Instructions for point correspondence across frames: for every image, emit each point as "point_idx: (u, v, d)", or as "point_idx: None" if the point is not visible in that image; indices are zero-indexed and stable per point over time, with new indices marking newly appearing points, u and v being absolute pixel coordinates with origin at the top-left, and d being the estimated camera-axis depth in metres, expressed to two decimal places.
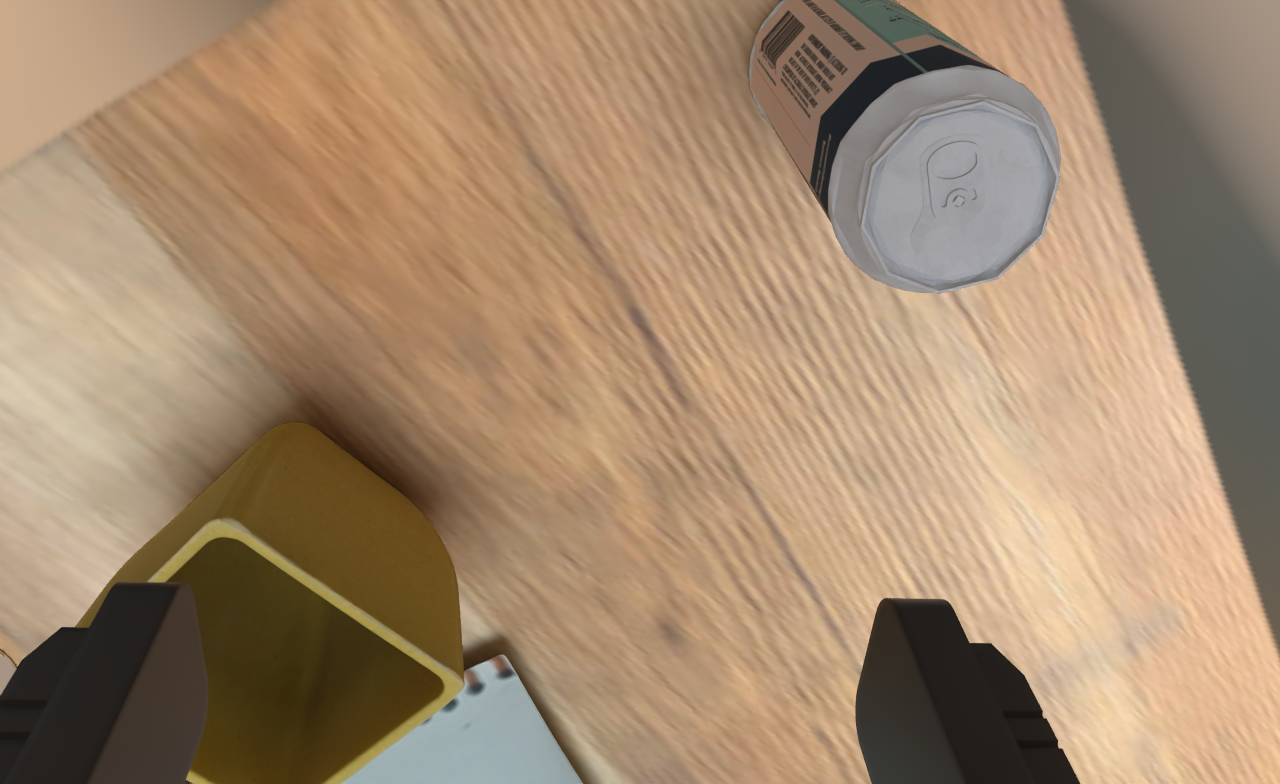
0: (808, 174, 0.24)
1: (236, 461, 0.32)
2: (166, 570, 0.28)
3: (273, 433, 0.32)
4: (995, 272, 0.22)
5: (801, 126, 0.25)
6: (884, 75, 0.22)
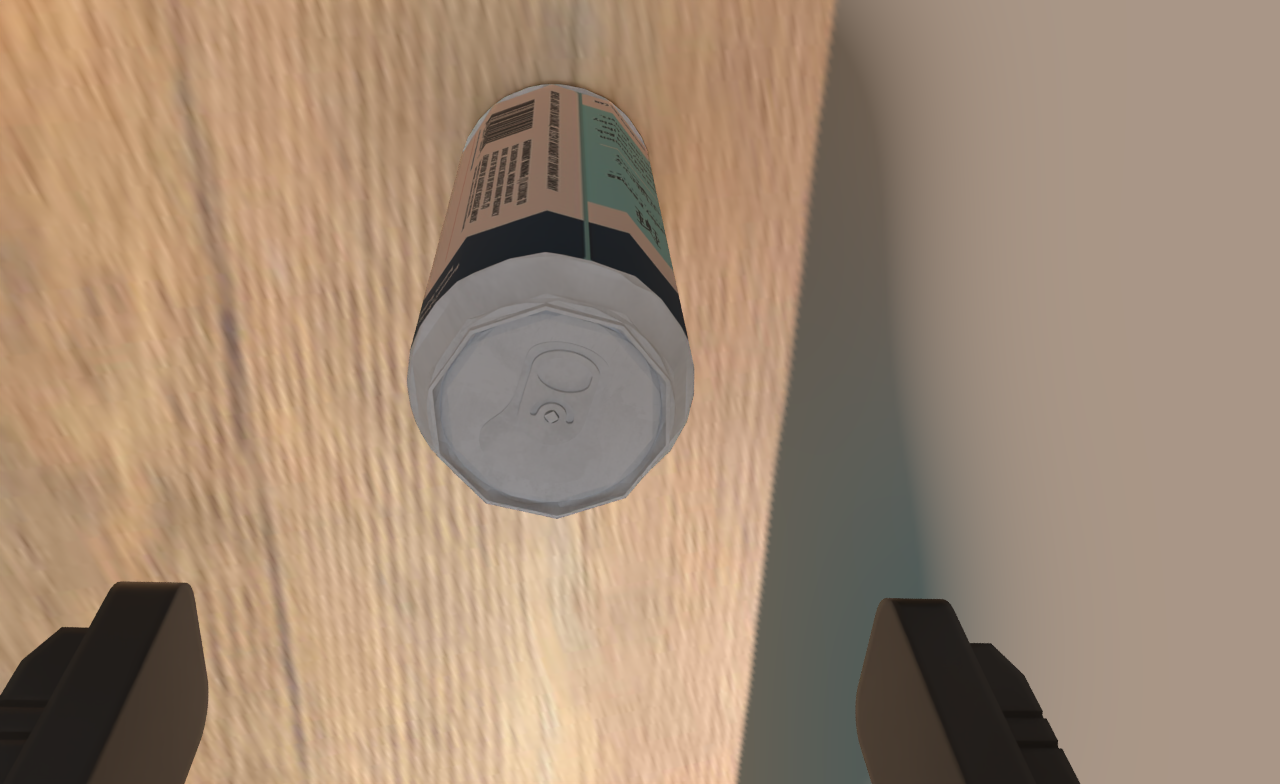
0: (427, 290, 0.19)
1: None
2: None
3: None
4: (559, 509, 0.18)
5: (454, 232, 0.20)
6: (546, 234, 0.17)
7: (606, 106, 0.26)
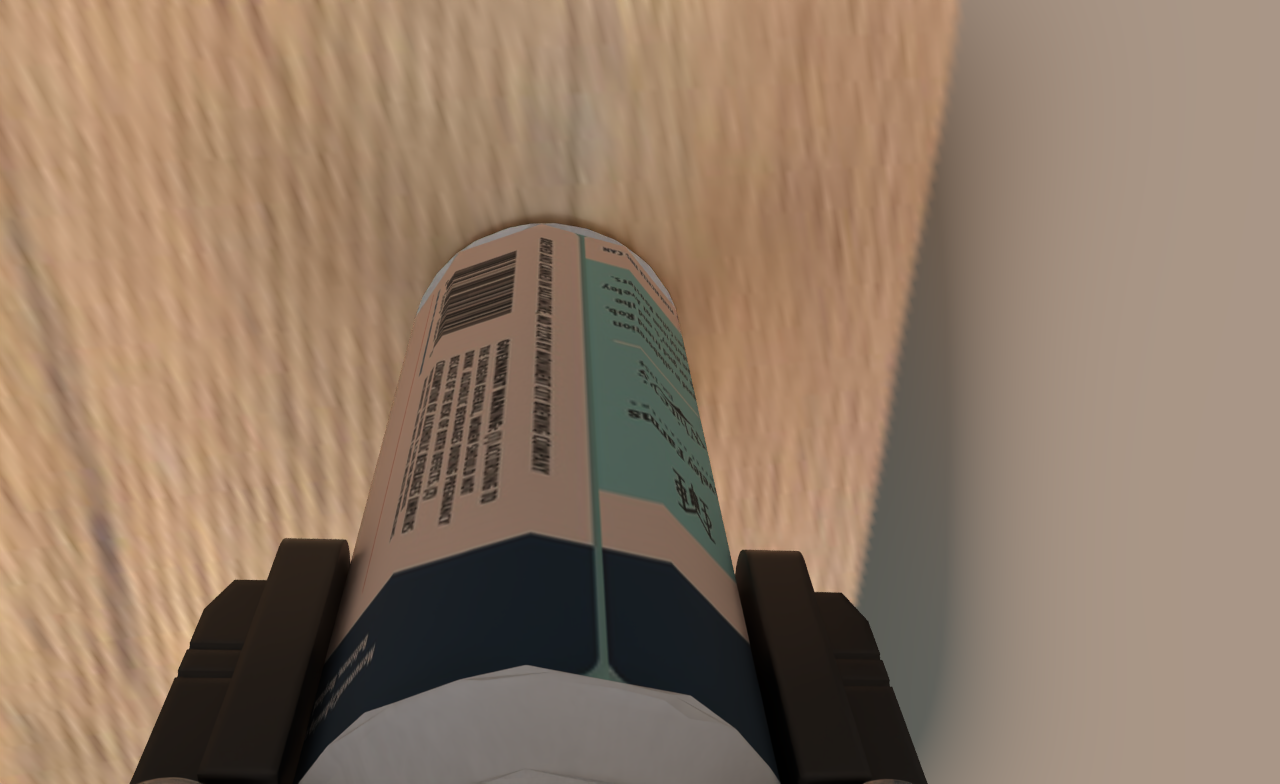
0: (332, 643, 0.12)
1: None
2: None
3: None
4: None
5: (382, 524, 0.12)
6: (527, 607, 0.10)
7: (619, 257, 0.18)
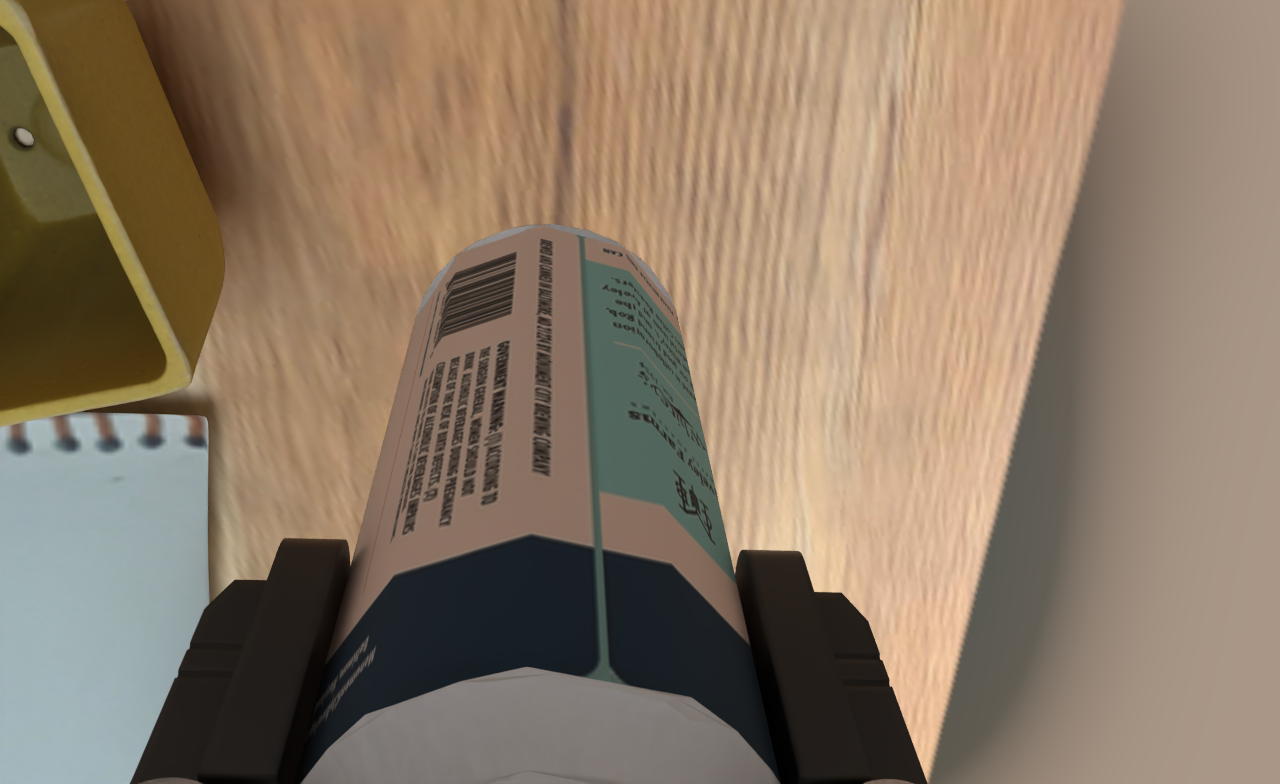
0: (333, 645, 0.12)
1: None
2: None
3: None
4: None
5: (382, 526, 0.12)
6: (528, 609, 0.10)
7: (619, 258, 0.18)
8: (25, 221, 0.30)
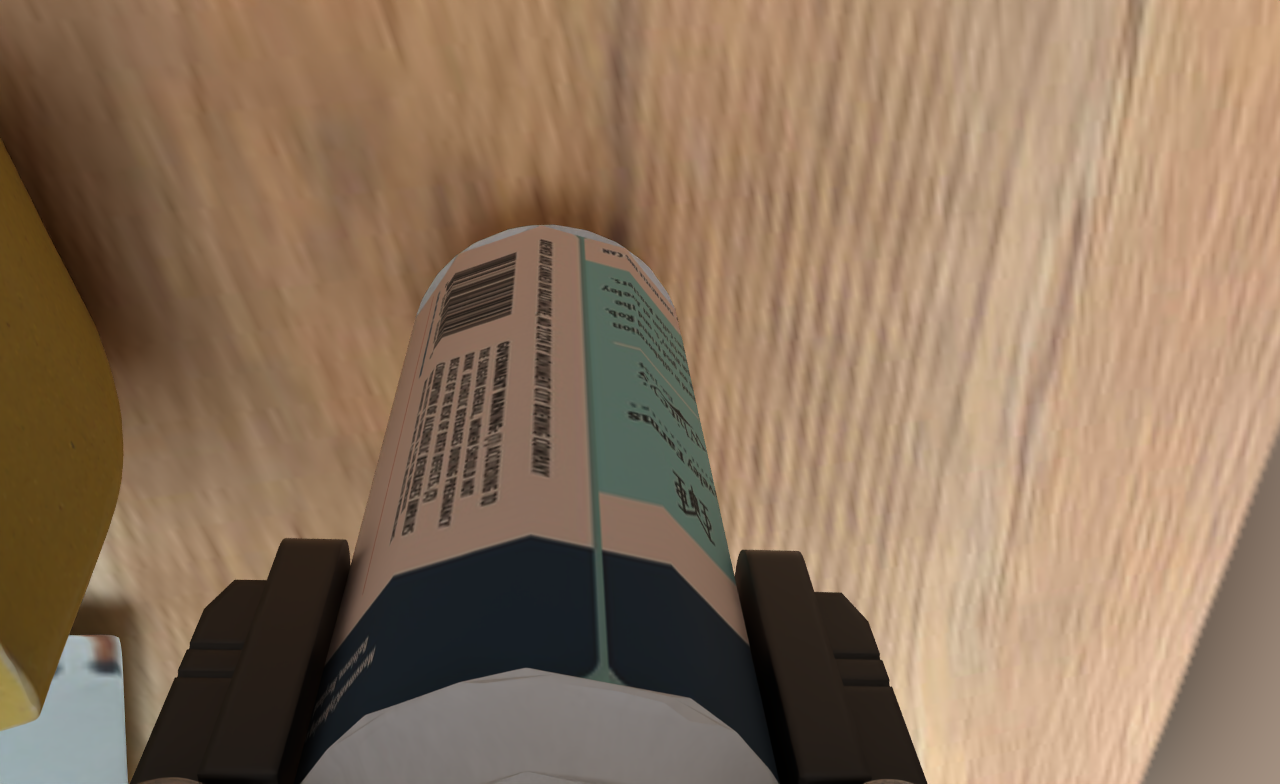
0: (332, 645, 0.12)
1: None
2: None
3: None
4: None
5: (382, 526, 0.12)
6: (527, 610, 0.10)
7: (619, 258, 0.18)
8: None
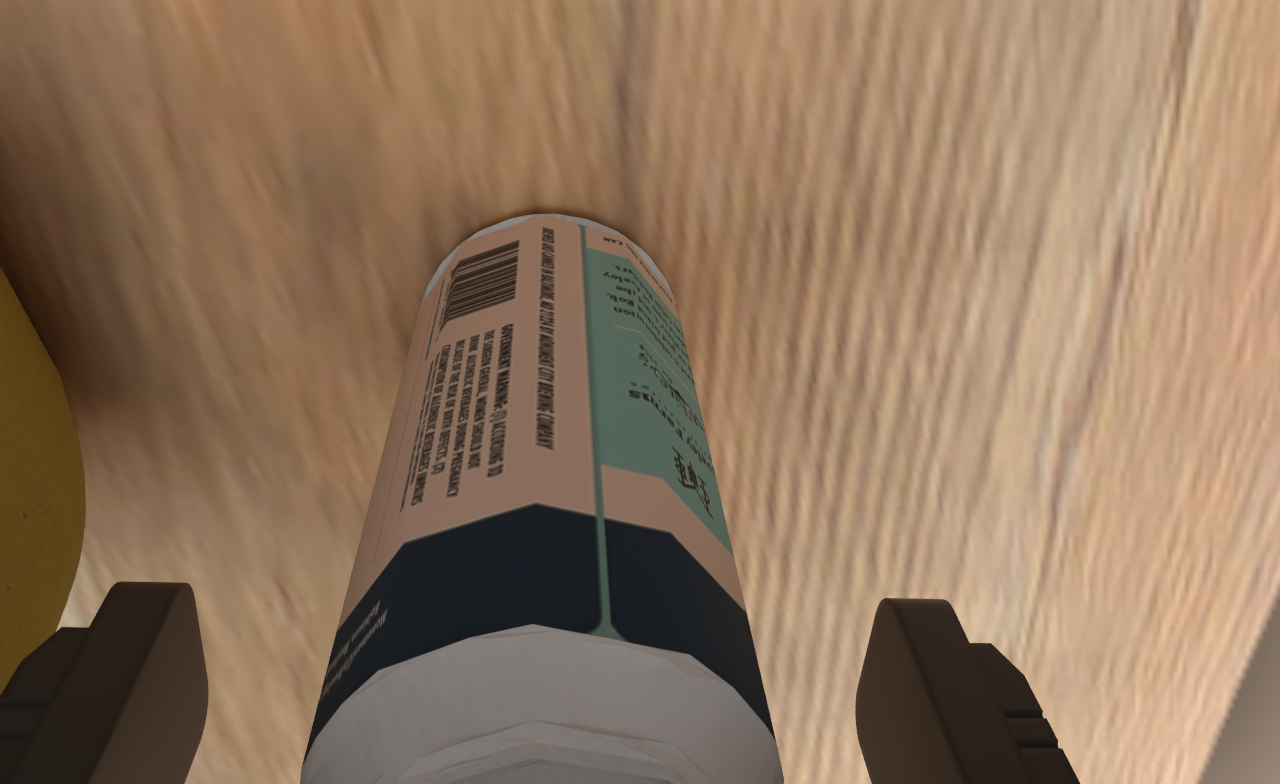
0: (344, 612, 0.12)
1: None
2: None
3: None
4: None
5: (391, 500, 0.13)
6: (533, 571, 0.10)
7: (619, 246, 0.18)
8: None
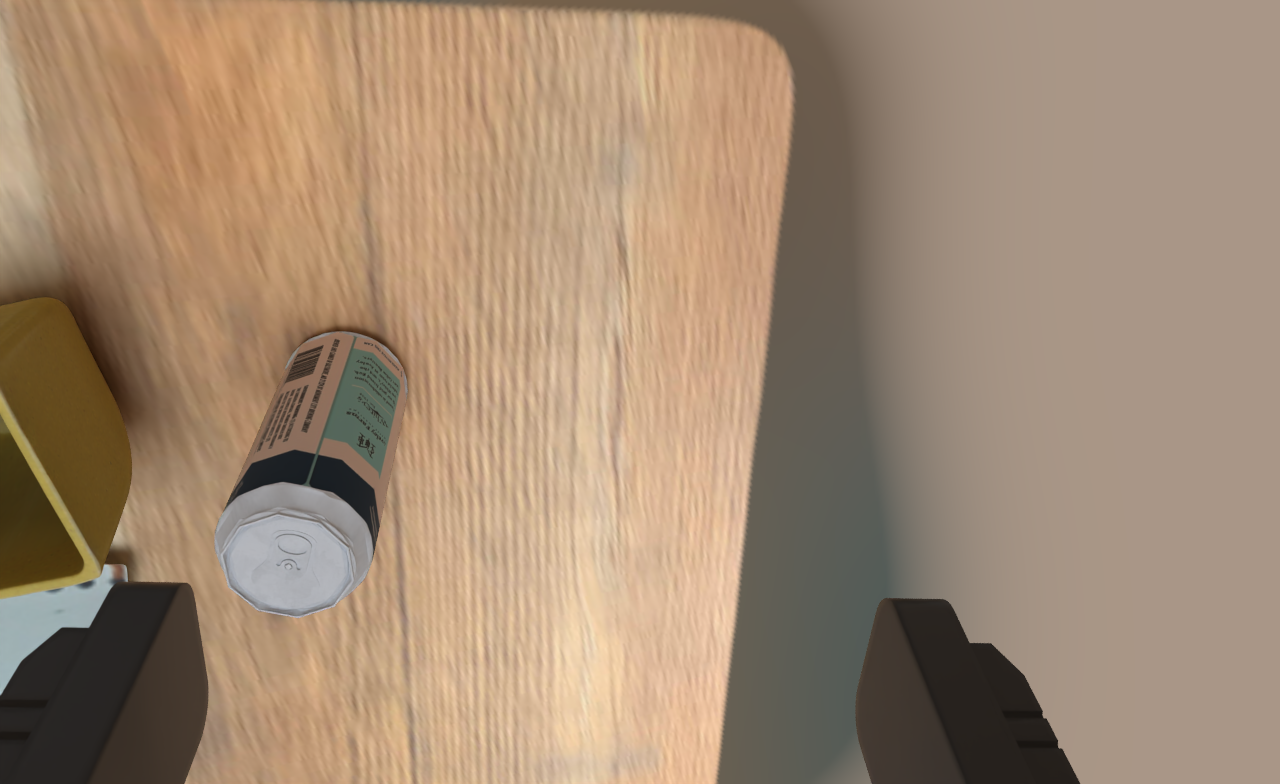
0: (233, 489, 0.35)
1: None
2: None
3: (41, 304, 0.37)
4: (299, 613, 0.34)
5: (253, 451, 0.36)
6: (287, 468, 0.33)
7: (370, 346, 0.41)
8: None
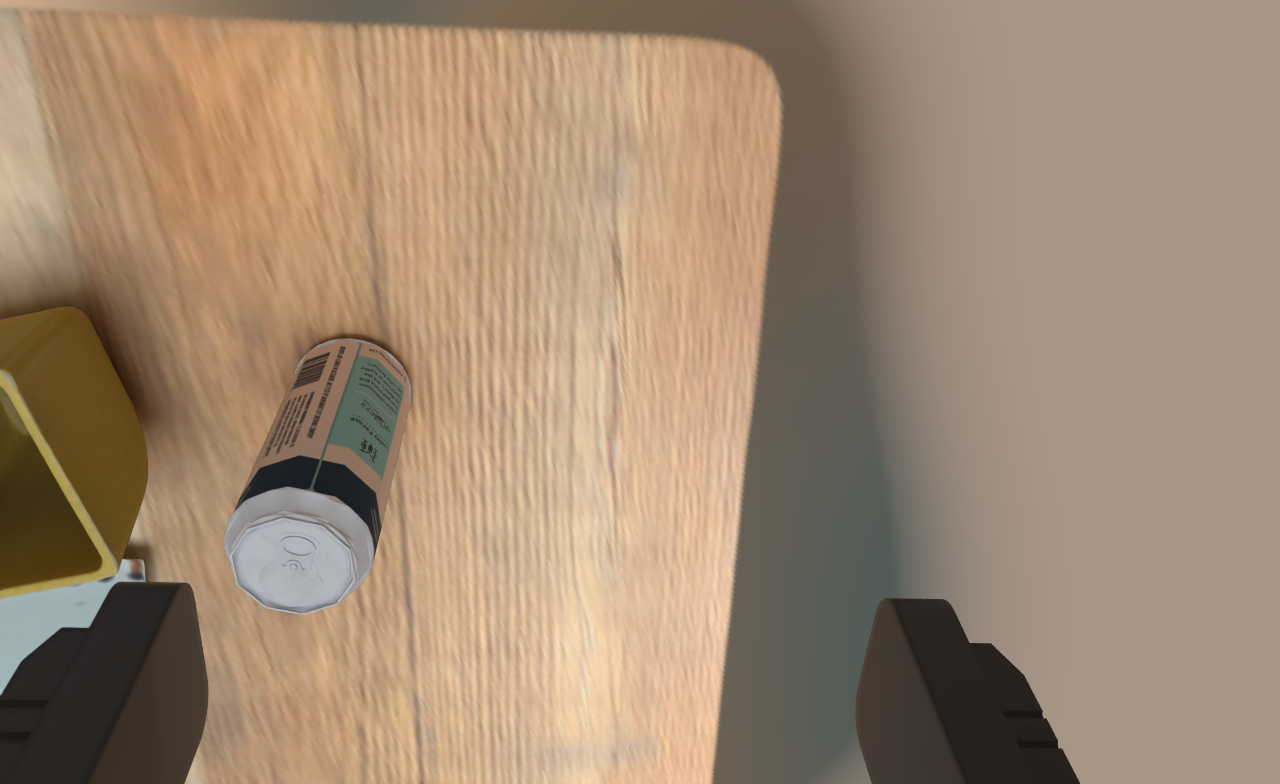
0: None
1: (18, 320, 0.38)
2: None
3: (61, 314, 0.38)
4: (304, 610, 0.35)
5: (261, 456, 0.37)
6: (293, 473, 0.35)
7: (375, 353, 0.43)
8: (14, 434, 0.44)
